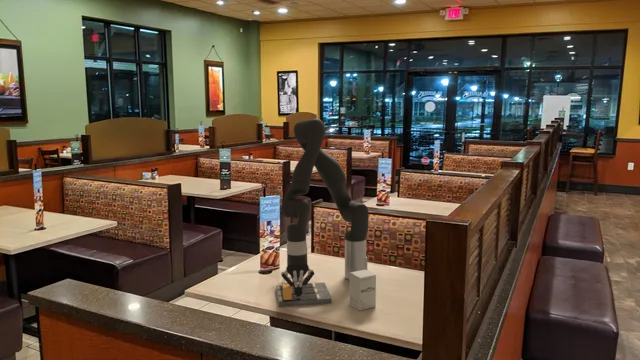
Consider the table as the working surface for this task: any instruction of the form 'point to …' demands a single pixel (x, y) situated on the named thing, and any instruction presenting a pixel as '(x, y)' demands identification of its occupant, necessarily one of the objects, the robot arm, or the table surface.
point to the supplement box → (362, 289)
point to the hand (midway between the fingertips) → (298, 295)
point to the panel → (306, 295)
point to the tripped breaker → (287, 292)
